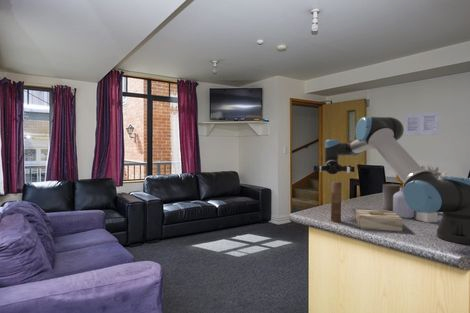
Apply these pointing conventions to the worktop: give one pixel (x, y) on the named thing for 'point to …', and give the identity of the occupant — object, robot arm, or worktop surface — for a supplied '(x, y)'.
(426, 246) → the worktop surface
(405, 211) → the soap bottle
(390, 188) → the pillar candle
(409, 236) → the worktop surface
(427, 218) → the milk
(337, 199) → the peg
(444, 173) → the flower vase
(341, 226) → the worktop surface
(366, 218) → the socket block
